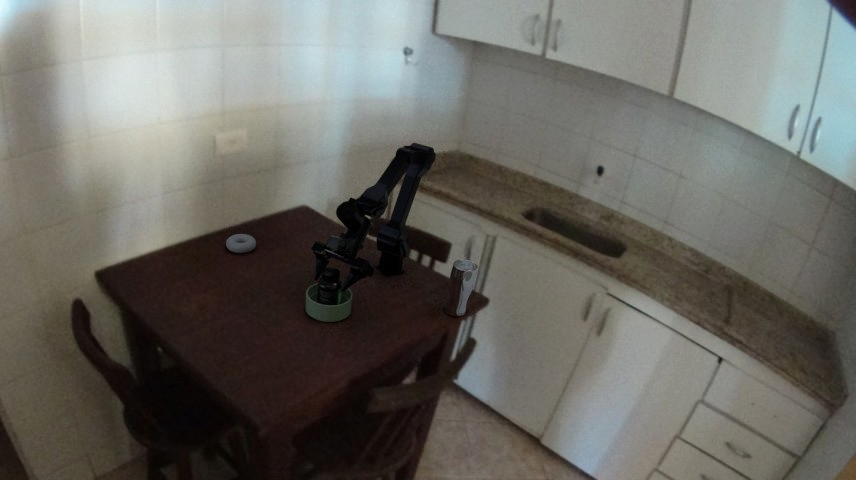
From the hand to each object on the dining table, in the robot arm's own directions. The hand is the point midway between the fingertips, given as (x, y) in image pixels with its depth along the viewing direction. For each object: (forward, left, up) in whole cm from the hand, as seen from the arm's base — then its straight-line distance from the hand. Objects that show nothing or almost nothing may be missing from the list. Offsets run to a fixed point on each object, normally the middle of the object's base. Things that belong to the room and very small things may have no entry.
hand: (328, 285), depth 169 cm
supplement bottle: (-1, 0, -8) cm, 8 cm away
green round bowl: (-1, 0, -8) cm, 8 cm away
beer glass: (-35, +14, -9) cm, 38 cm away
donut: (+9, -45, -9) cm, 47 cm away
